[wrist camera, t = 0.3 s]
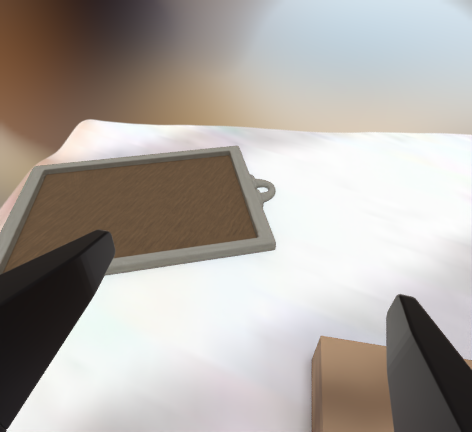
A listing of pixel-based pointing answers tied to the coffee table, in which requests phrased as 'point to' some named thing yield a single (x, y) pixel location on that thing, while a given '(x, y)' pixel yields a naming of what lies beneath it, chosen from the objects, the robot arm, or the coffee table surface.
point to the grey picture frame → (143, 209)
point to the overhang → (351, 387)
